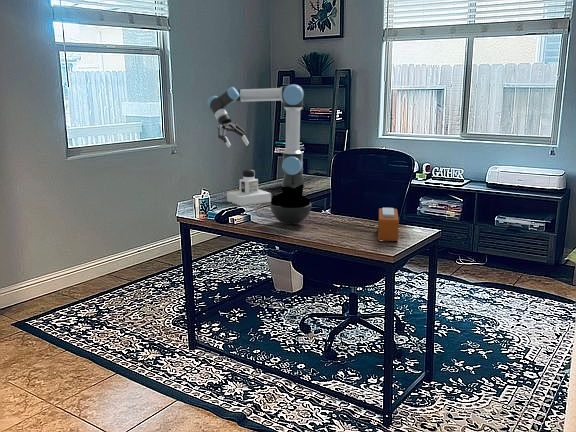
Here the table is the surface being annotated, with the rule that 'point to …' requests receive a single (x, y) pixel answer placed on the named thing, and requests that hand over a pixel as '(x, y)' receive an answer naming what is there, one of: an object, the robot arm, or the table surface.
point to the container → (248, 182)
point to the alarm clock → (388, 224)
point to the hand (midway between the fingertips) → (238, 145)
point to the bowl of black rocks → (290, 205)
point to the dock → (248, 197)
